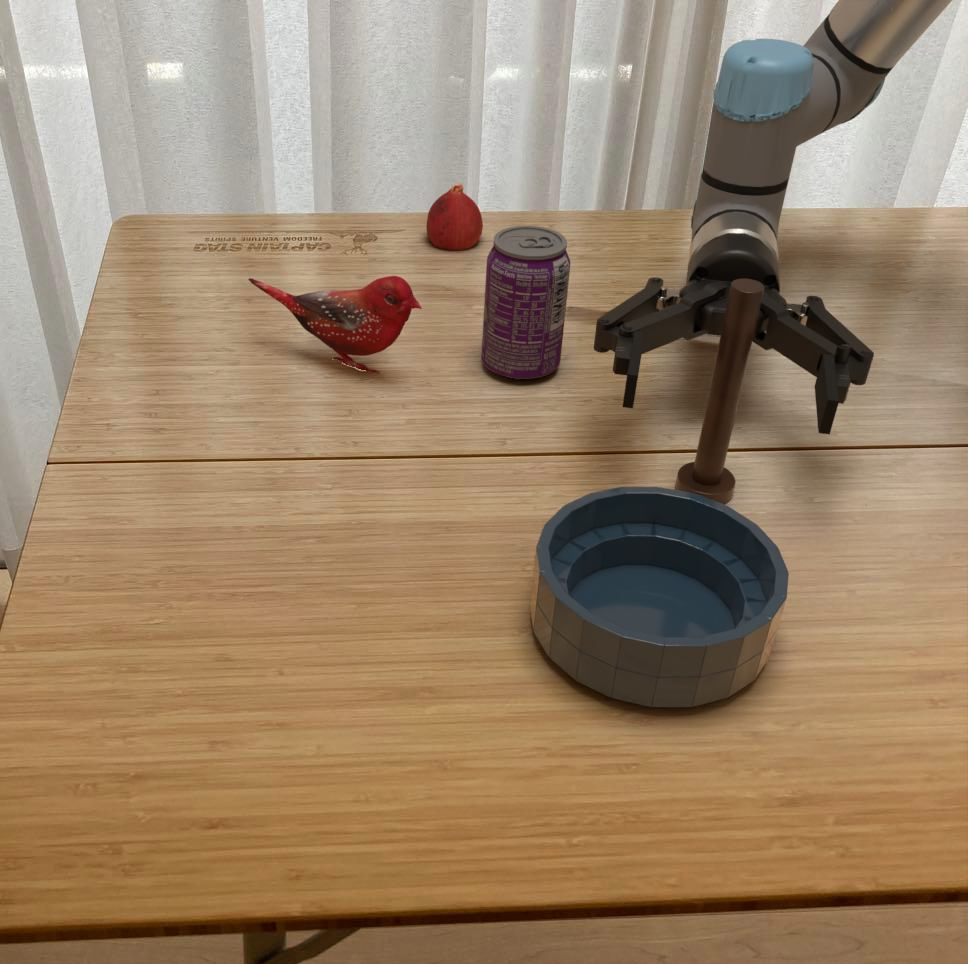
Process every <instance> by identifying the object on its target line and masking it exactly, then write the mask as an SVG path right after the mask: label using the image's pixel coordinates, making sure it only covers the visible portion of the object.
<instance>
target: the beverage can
mask: <svg viewBox="0 0 968 964" xmlns="http://www.w3.org/2000/svg"><path fill="white" fill-rule="evenodd" d="M567 246H568V240H567V237H565V236H564V235H563V234H562V233H561V232H558V231H557V230H553V229H551V228H548V227H544V226H537V225H516V226H509V227H506V228H502V229H501V230H499V231H497V233H495V234H494V236H493V246H492V248H491V249H490V250H489V252H488V255H487V258H486V270H485V286H484V287H485V288H484V303H483V304H484V306H483V322H482V340H481V355H480V357H481V358H480V359H481V361H482V363H483V365H484V366H485V367H486V368H487V369H489V371H491V372H493V373H495V374H497V375H500V376H502V377H505V376H506V377H505V378H508V377H509V378H508V379H512V378H514V379H513V380H520V379H526V380H532V379H538V378H543V377H545V376H548V375H550V374H552V373H553V372H555V371H556V370H557V369H558V368H559V367H560V364H561V358H562V350H563V341H564V338H563V337H564V330H565V321H566V319H565V318H566V310H567V301H568V291H569V284H570V283H569V282H570V271H571V259H570V257H569V254H568V252H567Z"/></svg>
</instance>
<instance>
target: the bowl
mask: <svg viewBox="0 0 968 964" xmlns="http://www.w3.org/2000/svg"><path fill="white" fill-rule="evenodd" d="M789 573H790V572H789V570H788V567H787V565H786V562H785V560H784V558H783V555H782V553H781V550H780V548H779V546H778V545H777V544H776V543H775V542H774V541H773V540H772V539H771V538H770V537H769V536H768V535H767V534H766V532H765V531H764V530H763V529H762V528H761V527H760V526H759V525H758V524H757V523H756V522H754V521H753V520H750V519H749V518H748V517H746V516H745V515H743V514H742V513H739V512H738V511H736V510H735V509H734V508H732V507H731V506H728V505H726V504H721V503H719V502H716V501H713V500H711V499H708V498H706V497H703V496H700V495H698V494H694V493H689V492H683V491H678V490H676V489H672V488H667V487H661V486H620V487H614V488H609V489H604V490H597V491H594V492H590V493H587V494H585V495H583V496H581V497H579V498H577V499H575V500H573V501H569V502H568V503H566V504H564V505H563V506H561V508H559V509H558V510H557V511H556V513H555V514H553V516H551V517H550V518H549V519H548V520H547V522H545V524H544V525H543V528H542V529H541V532H540V535H539V538H538V541H537V544H536V546H535V555H534V565H533V575H532V584H531V594H530V595H531V596H530V603H529V605H530V606H529V609H530V616H531V622H532V625H531V626H532V631H533V633H534V636H535V637H536V639H537V640H538V642H539V643H540V645H541V647H542V649H543V651H544V652H545V654H546V655H547V657H548V658H549V659H550V661H552V662H553V663H554V664H556V665H557V666H558V667H559V668H560V669H562V671H564V672H565V673H566V674H567V675H568V676H569V677H571V678H572V679H573V680H574V681H575V682H577V683H580V684H582V685H583V686H586V687H588V688H590V689H592V690H593V691H596V692H598V693H600V694H602V695H603V696H605V697H608V698H611V699H614V700H619V701H622V702H627V703H631V704H637V705H640V706H645V707H649V708H651V707H652V708H694V707H698V706H702V705H705V704H709V703H712V702H717V701H720V700H725V699H727V698H729V697H731V696H732V695H734V694H736V693H737V692H738V691H740V690H742V689H743V688H745V687H746V686H748V685H749V684H751V683H753V682H754V681H756V678H757V677H758V676H759V674H760V673H761V671H762V669H763V668H764V666H765V665H766V663H767V662H768V660H769V659H770V656H771V653H772V649H773V645H774V643H775V639H776V637H777V633H778V628H779V626H780V622H781V619H782V616H783V611H784V608H785V605H786V601H787V599H788V588H789V577H790V574H789Z"/></svg>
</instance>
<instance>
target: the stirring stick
mask: <svg viewBox="0 0 968 964" xmlns="http://www.w3.org/2000/svg"><path fill="white" fill-rule="evenodd" d="M763 292H764V286H763V284H762V283H760V282H758V281H756V280H752V279H737V280H734V281H733V282H732V283H731V288H730V293H729V298H728V302H727V307H726V312H725V317H724V322H723V327H722V332H721V336H719V341H718V347H717V352H716V356H715V362H714V365H713V366H714V367H713V370H712V375H711V380H710V386H709V391H708V395H707V399H706V405H705V409H704V415H703V419H702V423H701V425H702V426H701V430H700V435H699V439H698V444H697V450H696V453H695V458H694V461H691V462H688V463H685V464H683V465H682V466H681V467H680V468H679V469H678V471H677V475H676V479H675V485H674V486H675V487H674V488H675V490H678V491H683V492H689V493H694V494H698V495H700V496H703V497H706V498H708V499H711V500H713V501H716V502H719V503H721V504H724V505H726V504H727V503H728V502H729V501H730V500H732V498H733V495H734V491H735V487H736V478H735V475H734V474H733V473H732V472H731V470H729V469H728V468H726V467H725V465H726V460H727V456H728V450H729V446H730V442H731V438H732V433H733V429H734V426H735V420H736V416H737V412H738V411H737V410H738V407H739V402H740V398H741V393H742V389H743V384H744V380H745V376H746V371H747V367H748V364H749V358H750V353H751V350H752V345H753V342H752V341H753V336H754V332H755V328H756V323H757V319H758V314H759V310H760V305H761V301H762V297H763Z"/></svg>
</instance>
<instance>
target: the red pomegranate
mask: <svg viewBox="0 0 968 964" xmlns="http://www.w3.org/2000/svg"><path fill="white" fill-rule="evenodd" d="M483 228H484V224H483V217H482V213H481V210H480V208H479V206H478V205H477V203H476V202H475V201H474V200H473V199H472V198H471V197H470V196H469V195H467V194H466V193H464V186H463V184H462V183H461V182H460V183H454V185H452V186H451V188H450V189H449V190H448V191H446V192H445V193H443V194H442V195H440V196H439V197H438V198H437V199H436V200H435V201H434V202H433V203H432V205H431V206H430V207H429V210H428V213H427V219H426V235H427V237H428V239H429V241H430V242H431V244H432V245H433V246H434V247H436V248H439V249H442V250H446V251H463V250H468V249H471V248H472V247H474V246H475V245H476V244H477V243H478V241H479V239H480V238H481V236H482V233H483Z"/></svg>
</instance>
